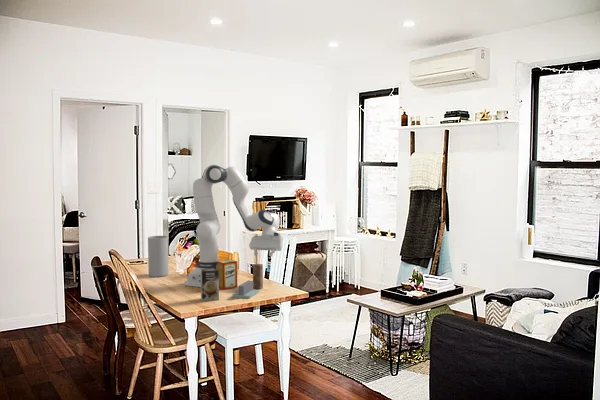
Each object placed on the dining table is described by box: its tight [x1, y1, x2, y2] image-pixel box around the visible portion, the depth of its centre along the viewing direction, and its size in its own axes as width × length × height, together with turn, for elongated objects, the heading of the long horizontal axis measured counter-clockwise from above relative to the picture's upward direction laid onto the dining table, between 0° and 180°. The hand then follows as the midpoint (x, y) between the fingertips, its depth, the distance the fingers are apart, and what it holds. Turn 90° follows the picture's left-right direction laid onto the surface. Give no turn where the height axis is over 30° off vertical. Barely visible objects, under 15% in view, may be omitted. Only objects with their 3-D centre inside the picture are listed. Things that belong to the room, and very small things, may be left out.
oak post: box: [252, 263, 264, 290], centre depth 319 cm, size 4×4×14 cm
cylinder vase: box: [147, 235, 170, 278], centre depth 356 cm, size 12×12×25 cm
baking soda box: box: [217, 259, 238, 291], centre depth 322 cm, size 10×6×16 cm
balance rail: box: [232, 279, 260, 300], centre depth 305 cm, size 10×14×6 cm
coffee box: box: [200, 269, 220, 302], centre depth 295 cm, size 9×6×16 cm
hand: (263, 255), depth 327 cm, fingers open, 8 cm apart
